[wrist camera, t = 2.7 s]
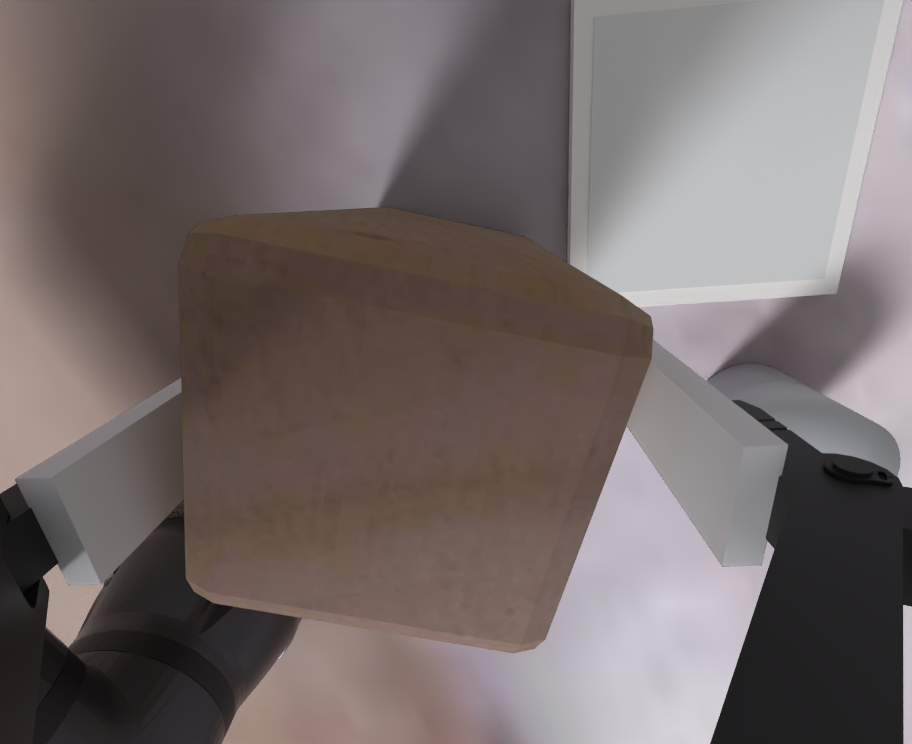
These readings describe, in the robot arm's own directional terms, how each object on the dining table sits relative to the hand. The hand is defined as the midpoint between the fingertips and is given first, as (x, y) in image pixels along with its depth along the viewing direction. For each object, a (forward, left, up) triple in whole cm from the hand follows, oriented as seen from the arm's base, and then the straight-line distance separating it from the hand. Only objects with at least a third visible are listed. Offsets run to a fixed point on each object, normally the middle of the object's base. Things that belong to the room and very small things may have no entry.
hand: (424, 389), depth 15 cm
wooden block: (0, 0, -15) cm, 15 cm away
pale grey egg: (+20, -9, -15) cm, 26 cm away
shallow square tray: (+16, +7, -15) cm, 23 cm away
